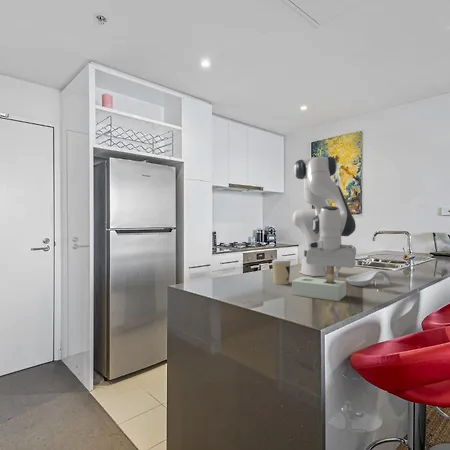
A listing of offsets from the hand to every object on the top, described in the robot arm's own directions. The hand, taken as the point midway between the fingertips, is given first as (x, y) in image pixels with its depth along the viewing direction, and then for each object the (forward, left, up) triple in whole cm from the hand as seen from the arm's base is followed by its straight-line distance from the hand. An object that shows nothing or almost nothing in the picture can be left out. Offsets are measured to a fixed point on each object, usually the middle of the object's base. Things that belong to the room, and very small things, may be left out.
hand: (330, 276), depth 134 cm
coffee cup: (-14, -29, -9) cm, 33 cm away
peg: (0, 0, -4) cm, 4 cm away
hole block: (0, -5, -9) cm, 10 cm away
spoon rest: (-35, +9, -9) cm, 37 cm away
